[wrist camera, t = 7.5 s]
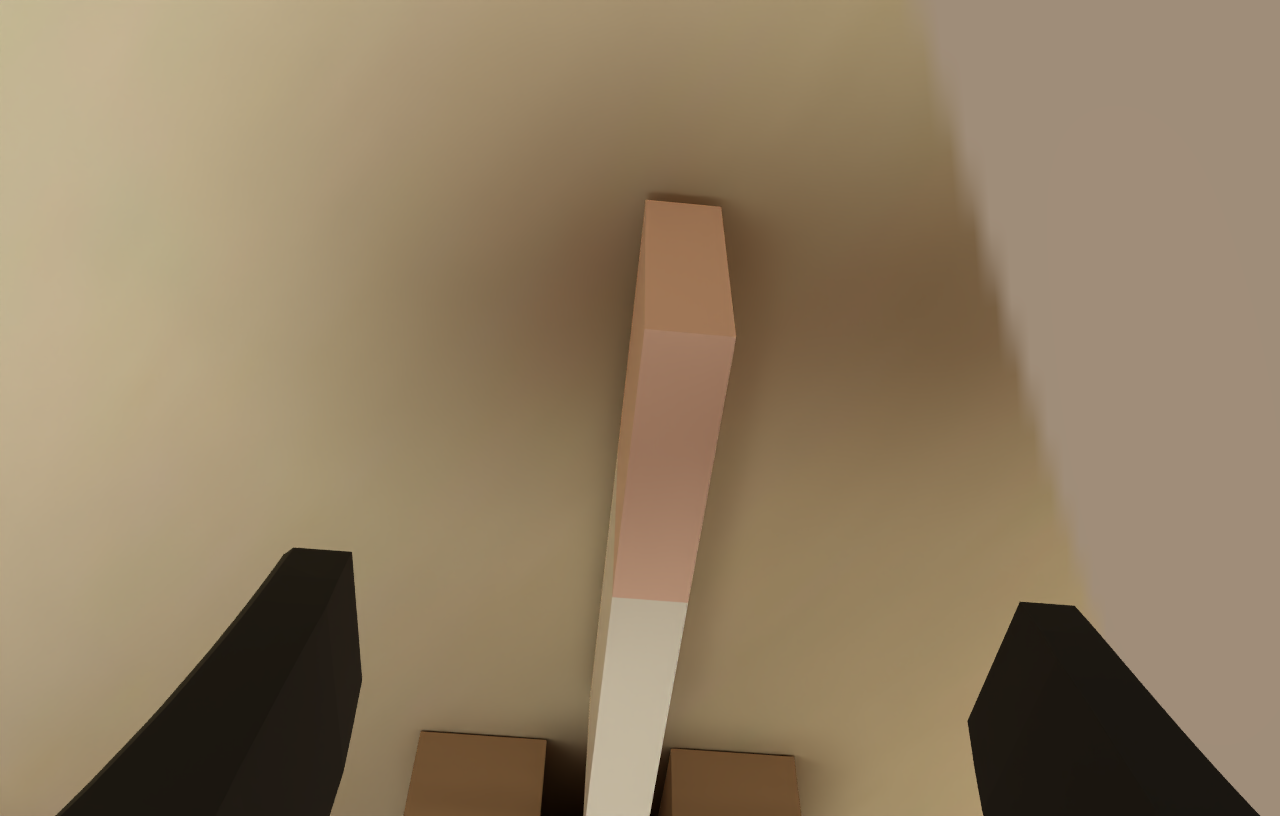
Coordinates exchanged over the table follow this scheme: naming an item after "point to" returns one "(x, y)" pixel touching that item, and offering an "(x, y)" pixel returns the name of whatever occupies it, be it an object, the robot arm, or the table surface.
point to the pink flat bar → (658, 496)
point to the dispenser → (514, 773)
